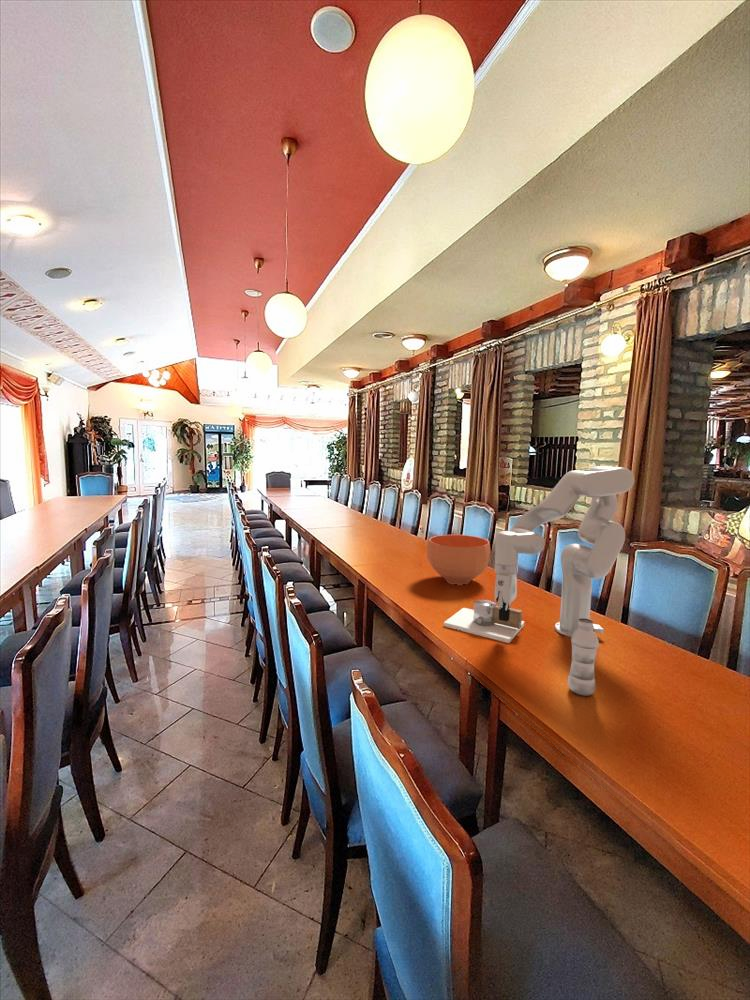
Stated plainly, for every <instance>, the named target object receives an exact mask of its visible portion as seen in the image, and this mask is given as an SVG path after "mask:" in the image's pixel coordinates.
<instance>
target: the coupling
mask: <svg viewBox="0 0 750 1000" xmlns="http://www.w3.org/2000/svg"><path fill="white" fill-rule="evenodd" d="M508 609H509V608H508ZM473 610H474V615H473V621H474V622H475V623H477V624H480V625H486V626H489V625H494V624H495V623H496V624H501V625H505V626H509V627H513V628H517V629H520V628H521V623H522V621H523V620H522V617H523V610H522V609H517V608H513V607H510V617H509V620H508V621H507V622H506V621H502V620H499V607H498V604H497V602H496V601H495V602H494V601H492V600H488V599H479V600H478V599H477V600H475V601H473Z"/></svg>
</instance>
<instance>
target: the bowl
mask: <svg viewBox="0 0 750 1000" xmlns="http://www.w3.org/2000/svg"><path fill="white" fill-rule="evenodd" d="M490 543H491V542H490V540H488V539H486V538H484V537H480V536H475V535H469V534H468V535H467V534H441V535H435V536H431V537H430V538H429V539H428V542H427V548H426V553H427V554H426V556H427V559H428V562H429V565H430V566H431V567H432V569H433V571H435V572H436V573H437V574H438V575H439V576H441V577H442V578H443V579H445V582H446V581H447V582H448V584H450V585H454V584H457V585H456V586H463V585H462V584H466V585H468V584H470V581H472V580H473V579H475V578H477V577H478V576H480V575H482V574H483V573H484V572H485V570H486V569H487V568H488V567H489V564H490V561H491V553H492V552H491V551H492V550H491V544H490ZM447 582H446V583H447Z"/></svg>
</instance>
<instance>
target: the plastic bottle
mask: <svg viewBox="0 0 750 1000" xmlns="http://www.w3.org/2000/svg"><path fill="white" fill-rule="evenodd" d="M593 625H595V623H594V621H593V619H591V618H590V619H586V618H579V619H578V624H577V626H578V629H577V630H576V631H575V632H574V633H573V634H572V637H570V643H571V665H570V669H569V670H570V671H569V674H568V676H567V685H568V687H569V689H570V691H571V692H573V693H574V694H576V695H580V696H591V695H592V694H593V693H594V692H595V689H596V679H595V678H596V677H595V662H596V657H597V656H596V655H597V652H598V648H599V638H598V637H597V635H596V632H593V629H594V626H593Z"/></svg>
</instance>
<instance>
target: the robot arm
mask: <svg viewBox="0 0 750 1000" xmlns="http://www.w3.org/2000/svg"><path fill="white" fill-rule="evenodd" d="M634 484H635V476H634V473H633V472H632V470H631V469H628V468H626V467H621V466H606V465H604V466H603V465H599V466H594V467H591V468H589V470H570V471H568V472H566V473H565V474H564V475H563V476H562V477H561V479H559V481H558V483H556V485H554V487H553V488H552V490H551V491H550V492H549V494H548V495H547V496H546V497H545V498H544V499H543V500H542V502H540V503H539V504H537V505H535V506H534V507H532V508H531V509H529V510H527V511H525V512H524V513H523V514H522V515H521V516H520V517H519V518H518V519H517V521H515V523H514V524H513V526H512V527H511V528H510V530H500V531H498V532H497V533H496V534H495V543H494V544H495V546H494V547H495V550H494V551H495V552H494V573H496V576H495V584H494V601H495V603H497V602H498V603H497V605H498V607H499V620H502V621H506V622H507V621H508V620H509V617H510V608H511V603H512V602H514V601H515V599H516V598H517V596H518V595H517V593H518V590H517V589H518V588H517V587H518V582H517V581H518V579H517V578H518V577H517V574H518V573H519V554H522V555H523V554H524V555H538V554H540V553H541V552H542V551H543V550H544V548H545V545H546V541H545V539H544V537H543V536H542V535H541V534H539V533H538V532H535V530H536V529H537V528H539V527H541V526H542V525H544V524H546V523H549V522H552V521H553V522H554V521H556V520H560V519H562V518H564V517H566V515H567V514H568V513H569V512H570V510H571V509H572V508H573V506H574V505H575V504H576V503H577V502H578V500H579V499H580V498H581V497H585V498H591V501H590V505H589V507H588V509H587V511H586V512H585V515H584V517H583V519H582V521H581V523H580V524H579V527H578V529H577V534H578V538H579V539H580V540H581V541H583V542H585V543H587V544H590V545H593V546H592V547H590V546H586V545H583V544H579V543H570V544H568V545H566V546H565V547H563V549H562V551H561V554H560V565H561V572H562V578H561V579H562V580H561V582H562V583H561V595H560V596H561V597H560V598H561V599H560V600H561V601H560V615H559V621H558V622H556V623H555V624H554V629H555V631H556V632H557V633H559V634H561V635H564V636H566V637H570V638H571V637H572V634H573V633H574V632H575V631H576V630H577V629H578V626H577V624H578V619H579V618H586V619H590V620H591V616H590V615H591V605H592V591H593V590H592V589H593V583H592V579H593V580H594V579H595V580H600V579H603V578H605V577H606V576H607V575H608V574H609V572H611V570H612V568H613V566H614V564H615V562H616V560H617V559H618V556H619V554H620V553H621V550H622V549H623V547H624V544H625V540H626V530H625V528H624V527H623V526H622V524H620V523H619V522H617V521H614V518H615V516H616V514H617V511H618V509H619V508H618V507H619V506H618V505H619V502H618V497H617V495H620V494H624V493H627V492H628V491H630V490H631V489H632V488H633V486H634ZM508 608H509V609H508ZM593 626H594V629H593V632H594V633H598V634H601V635H603V633H604V628H603V627H601V625H599V624H594V625H593Z"/></svg>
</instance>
